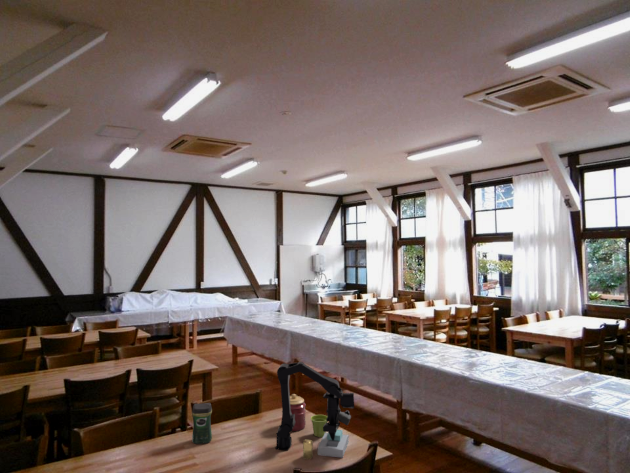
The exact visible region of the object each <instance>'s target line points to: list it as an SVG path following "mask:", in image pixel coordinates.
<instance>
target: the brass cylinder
mask: <svg viewBox="0 0 630 473" xmlns="http://www.w3.org/2000/svg"><path fill="white" fill-rule="evenodd" d="M313 443H314V442H313V440H311V439H304V440H303V441H302V458H303V459H304V460H310V459H312V458H313V452H314V450H313V446H314V445H313Z"/></svg>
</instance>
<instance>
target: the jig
mask: <svg viewBox="0 0 630 473" xmlns="http://www.w3.org/2000/svg"><path fill="white" fill-rule="evenodd" d="M327 434H328V432H326V433H325V434H324V436H323V437H321V439H320V442H319V444H318V445H317V455H318V456H322V457H323V456H324V457H333V458H343V459H344V456H345V453H346V450H347V448H348V445H349V439H350V438H349V434H344V433H343V435H342V438H341V440H340V441H336V440H327Z"/></svg>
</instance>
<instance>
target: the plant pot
mask: <svg viewBox="0 0 630 473" xmlns="http://www.w3.org/2000/svg"><path fill="white" fill-rule="evenodd" d="M326 419H327V415H326V414H325V415H324V414H316V415H315V414H314V415H312V416H311V417H310V421H311V424H312V431H313V436H314V437H318V438H323V436H324V434H325V433H327V432H324V431H323V426H324V424H325V423H326V422H327V423H328V422H329V421H326Z"/></svg>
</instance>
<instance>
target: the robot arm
mask: <svg viewBox="0 0 630 473" xmlns="http://www.w3.org/2000/svg"><path fill="white" fill-rule="evenodd" d="M296 373H301V374H302V375H304V376H306V377H308V378H309V379H311V380H312V381H314V382H316V383H317V384H318V385H320V386H321V387H322V388H323V389H324V391H326V393H324V394H323V396H322V397H323V399H327V400H326V402H327V404H326V406H327V408H326V416H327V419H326V421H328V422H326V423H325V424H324V426H323V431H324V432H326V433H328V432H329V434H330V437H331V439H332V440H334V439H335V434H336V431H337V430H339V427H340V425H341V423H342V424H343V425H345V426H348V425H349V424H350V421H351V418H352V415H351V413H350V411H349V410H345V411H341V408H340V406H341V407H342V408H344V409H347V408H348V409H355V396H354V394H355V393H354V392H350V393H349V392H344V391H343V390H342V388H341V387H340V383H339V381H338V380H337V379H334V378H332V377H330V376H326V375H324V374H322V373H320V372H318V371H317V370H315V369H314V368H312V367H310V366H309V365H307V364H306V363H304V361H299V362H291V363H282V364H280V365H279V367H278V368H277V371H276V374H277V379H278V382H279V384H280V394H281V395H280V396H281V408H282V409H281V410H282V411H281V412H283V414H282V413H281V422H280V425H279V426H278V429H277V431H276V434H275V435H276V446H275V448H274V449H275V450H280V451H289V450H290V448H291V447H292V442H293V441H292V435H291V432H293V431H292V429H293V427H294V425H295V422H296V421H295V414H292V413H291V407H290V396H291V395H290V394H291V393H290V392H291V391H290V378H291V375H293V374H296Z"/></svg>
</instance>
